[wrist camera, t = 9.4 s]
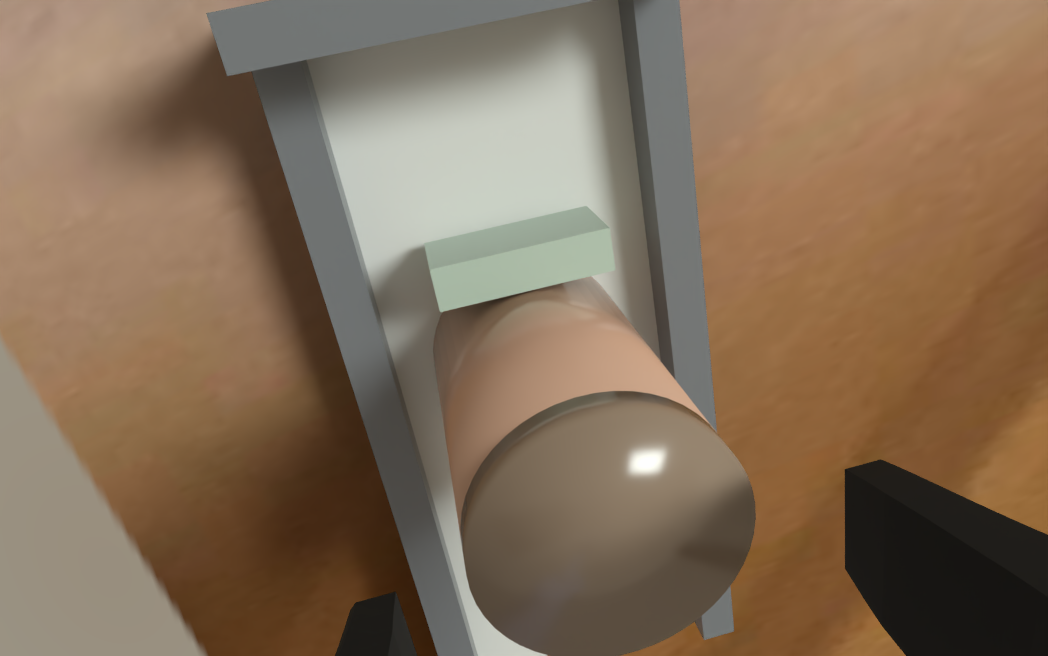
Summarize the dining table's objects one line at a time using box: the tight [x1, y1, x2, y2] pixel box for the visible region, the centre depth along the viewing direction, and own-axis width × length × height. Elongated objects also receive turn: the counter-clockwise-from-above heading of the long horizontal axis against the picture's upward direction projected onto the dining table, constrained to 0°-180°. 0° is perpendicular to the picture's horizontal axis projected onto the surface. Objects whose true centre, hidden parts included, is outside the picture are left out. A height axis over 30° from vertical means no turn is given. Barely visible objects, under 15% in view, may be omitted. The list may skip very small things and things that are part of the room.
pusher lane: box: [206, 0, 734, 656], centre depth 19 cm, size 9×20×4 cm, turn 10°
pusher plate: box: [424, 206, 615, 312], centre depth 17 cm, size 4×1×2 cm, turn 101°
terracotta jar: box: [433, 276, 756, 656], centre depth 16 cm, size 5×5×8 cm
